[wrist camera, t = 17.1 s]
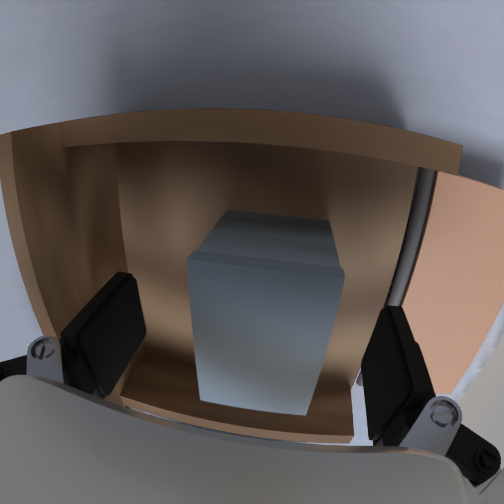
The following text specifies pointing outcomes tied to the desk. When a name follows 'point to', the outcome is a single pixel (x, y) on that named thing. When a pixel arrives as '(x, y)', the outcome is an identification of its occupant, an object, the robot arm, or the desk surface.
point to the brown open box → (200, 225)
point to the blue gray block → (263, 309)
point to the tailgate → (451, 272)
